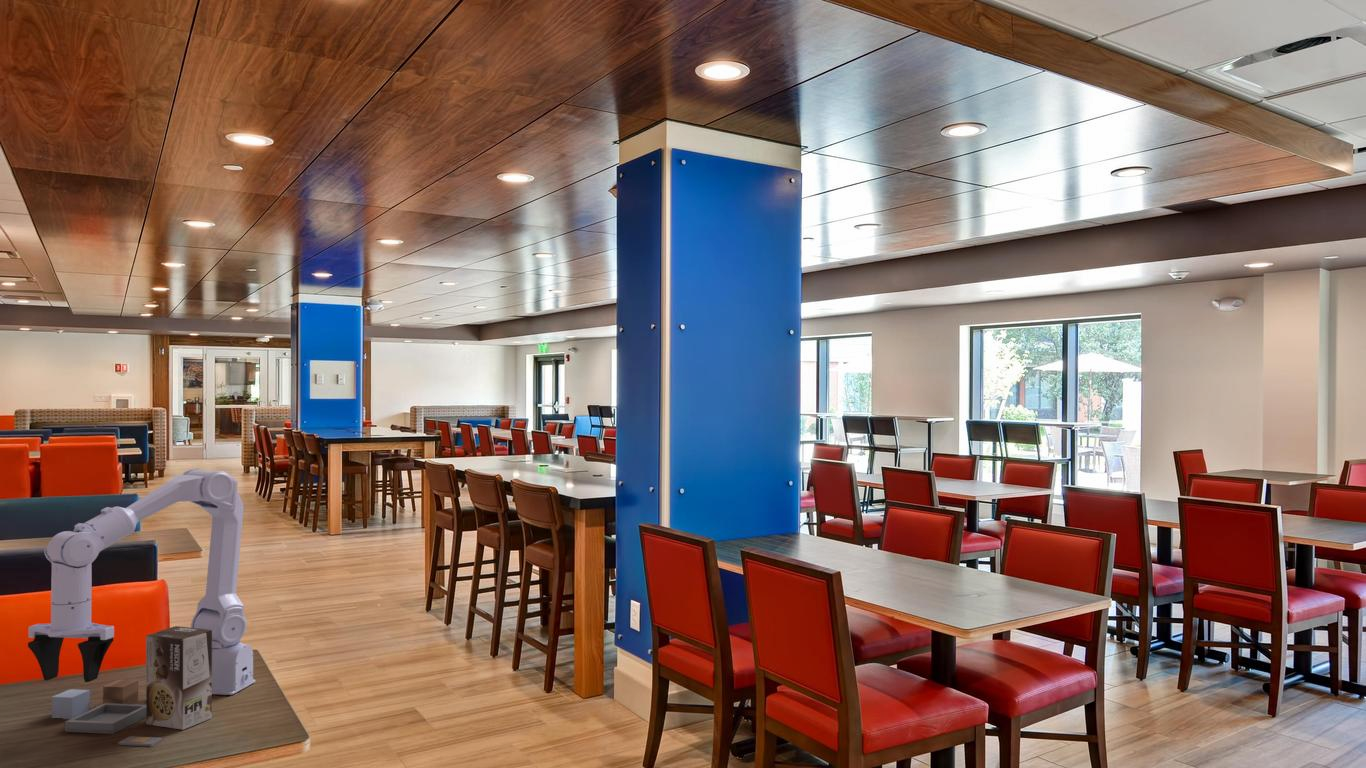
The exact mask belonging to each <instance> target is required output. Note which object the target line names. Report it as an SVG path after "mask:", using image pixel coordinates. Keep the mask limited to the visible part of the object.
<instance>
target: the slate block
mask: <svg viewBox="0 0 1366 768" xmlns="http://www.w3.org/2000/svg"><path fill="white" fill-rule="evenodd" d="M90 696H91V690H90V689H76V688H75V689H71V688H70V689H67V690H65V691H63V692H61V693H58V694H56V695H53V696H52V697H51V719H53V718H63V719H62V720H70V719H72V718H74V717H76V716H78V715H81V714H83V713H85V712H87V711H89V710H91V709H90V708H91V707H90V706H91V705H90V702H91V701H90V699H91V697H90Z"/></svg>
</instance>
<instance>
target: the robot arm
mask: <svg viewBox="0 0 1366 768" xmlns="http://www.w3.org/2000/svg"><path fill="white" fill-rule="evenodd" d="M238 485H239V483H238V480H236V479H235V478H234V477H233V476H232V475H231V474H230V473H228V472H226V471H224V470H202V469H198V468H191V469H188V470H186V471H184V472H183V473H182V474H181V473H180V474H177V475H176V476H173V477H172V478H171V479H170V480H169V481H168V482H165V483H164V484H162V485H160V486H159V487H158V488H156V489H154V490H153V491H151V492H150V493H147V494H146V495H145V496H143V497H141V498H140V499H138V500H136V501H135V502H133V503H131V504H130V505H128V506H127V507H121V506H117V505H116V506H113V507H111V506H110V507H109V506H107V507H104V508H102V509H101V510H100V512H101V513H100V514H98V515H96V516H94V517H93V518H91V519H89V520H87V521H85V522H83V523H82V522H81V523H80V522H78V523H77V524H75V525H74V526H73V527H74V529H73V531H71V530H67V531H66V530H65V531H61V532H58V533H57V534H55V535H54V536H52V537H51V540H50V541H48V543H47V546H46V548H44V549H43V552H44V556H45V558H46V560H48V561H49V562H50V563H51V578H50V579H51V586H50V587H51V588H50V589H51V592H50V606H51V607H50V621H51V622H50V623H36V624H33V625H31V626H30V625H29V626H28V638H30V639H33V640H32V641H28V643H27V648H28V649H29V650H30V651H31V653H32V654H33V655H34V657H35V658H36V660H37V663H38V664H39V668H40V670H41V671H40V672H41V674H42V677H43V680H44V681H50V680H52V679H55V678H57V677H58V675H59V667H60V656H61V655H60V654H61V649H62V645H63V642H64V639H65V638H66V639H67V638H68V639H71V638H72V639H87V640H84V641H82V642H79V643H77V647H78V649H79V653H80V655H81V659H82V671H83V674H82V675H83V680H84V683H90V682H92V681H95V680H97V679H98V676H99V672H100V670H101V666H102V664H103V661H104V657H105V656H106V654H107V652H108V650H109V648H110V646H111V645H112V644H113V642H114V637H115V626H114V625H106V624H99V623H96V622H92V602H93V601H92V592H93V591H92V583H93V582H92V581H93V578H92V575H93V573H92V566H93V565H92V563H93V562H94V561H95V560H96V559H97V557H98V556H99V553H101V552H102V551H103V550H105V549H107V548H108V547H110V546H112V545H114V544H116V543H117V542H119V541H121V540H122V539H124V538H127V536H129V535H132V534H133V533H134V532H135V531H136V528H137V525H138V523H140V522H141V521H143V520H145V519H146V518H149V517H151V516H153V515H155V514H156V513H159V512H160V511H162V510H164V509H166V508H168V507H170V506H172V505H175V504H176V503H180V502H191V503H193V504H196V505H198V506H200V507H201V508H203V510H204V511H206V513H208V514H209V515H210V516H211V517H212V520H211V531H210V542H209V555H208V564H207V565H208V566H207V575H206V587H205V594H204V596H203V597H202V598H201V599H200V600H199V601H198V602H197V605H196V606H197V607H196V611H195V614H194V616H193V618H192V619H191V623H190V628H199V629H208V630H212V695H224V696H228V695H229V696H232V695H235V694H237V693H238V692H240V691H242V690H243V689H245V688H247V687H249V686H251V685H252V684H254V683H256V679H254V650H253V647H252V646H251V645H249V644H246V643H242V642H241V639H243V637H244V635H245V634H246V632H247V626H248V624H247V623H248V621H247V618H246V617H245V614H244V613H245V611H244V610H245V606H244V604H243V602H242V601H241V599H240V598H239V596H238V595H237V590H238V580H239V578H238V576H239V566H240V565H239V564H240V554H241V553H240V552H241V544H242V541H241V540H242V529H243V519H244V518H243V517H244V504H243V501H242V499H241V497H240V494H239V492H238Z"/></svg>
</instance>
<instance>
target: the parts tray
mask: <svg viewBox="0 0 1366 768" xmlns="http://www.w3.org/2000/svg"><path fill="white" fill-rule="evenodd" d="M145 718H146V704H137V703H135V704H134V703H132V704H115V703H104V704H103V703H102V704H99V705H98V706H95V707H93V708H91V709H90V710H89V711H87V712H85V713H83V714H81V715H78V716H76V717H74V718H72V719H67V720H65V722H64V725H65V726H64V732H68V733H88V734H89V733H90V734H111V735H112V734H116V733H117V732H119V731H121V730H123V729H125V728H127V727H129V726H131V725H133V724H134V723H136V722H138V721H140V720H142V719H145Z"/></svg>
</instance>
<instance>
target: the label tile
mask: <svg viewBox="0 0 1366 768" xmlns="http://www.w3.org/2000/svg"><path fill="white" fill-rule="evenodd" d="M163 740H164V739H163V737H152V736H131V735H130V736H128V737H126V738H124V739H122V740H120V741H119V742H117V743H118V746H137V747H154V746H155V745H157V744H158V743H160V742H162V741H163Z"/></svg>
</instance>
